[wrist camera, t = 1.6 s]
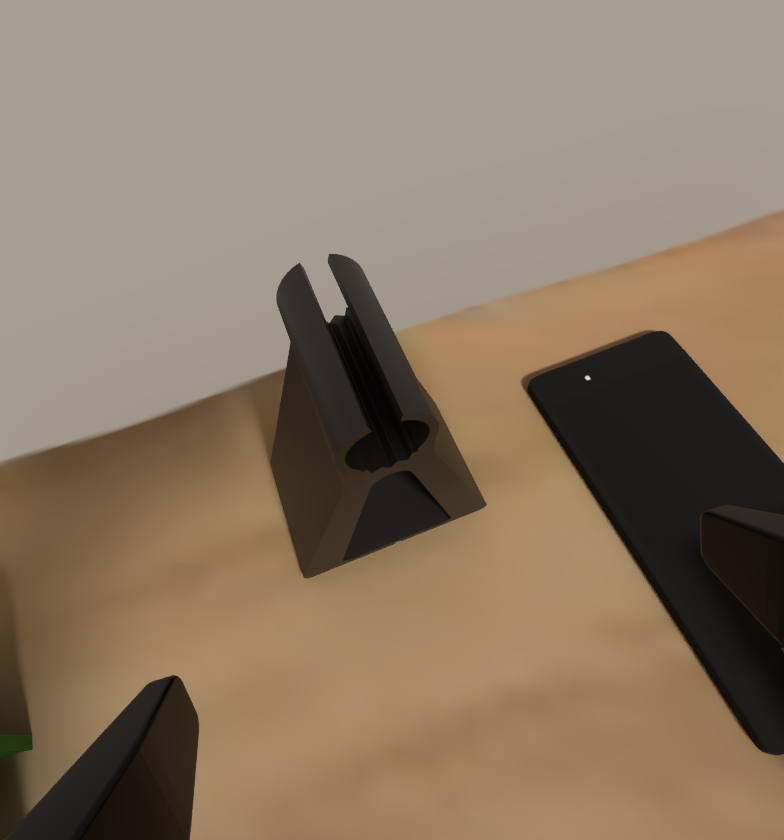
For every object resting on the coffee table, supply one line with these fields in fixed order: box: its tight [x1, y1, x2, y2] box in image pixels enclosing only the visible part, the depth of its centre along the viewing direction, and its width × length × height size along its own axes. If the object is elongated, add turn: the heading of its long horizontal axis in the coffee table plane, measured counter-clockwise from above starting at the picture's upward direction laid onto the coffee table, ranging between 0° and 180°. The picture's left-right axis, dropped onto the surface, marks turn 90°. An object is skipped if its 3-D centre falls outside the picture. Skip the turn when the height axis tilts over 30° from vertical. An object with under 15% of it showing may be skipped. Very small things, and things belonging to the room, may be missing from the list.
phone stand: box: [271, 254, 486, 578], centre depth 18 cm, size 9×6×12 cm, turn 111°
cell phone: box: [528, 331, 784, 755], centre depth 22 cm, size 9×18×1 cm, turn 22°
